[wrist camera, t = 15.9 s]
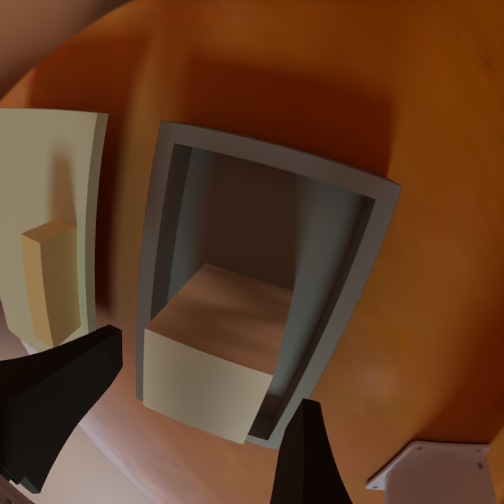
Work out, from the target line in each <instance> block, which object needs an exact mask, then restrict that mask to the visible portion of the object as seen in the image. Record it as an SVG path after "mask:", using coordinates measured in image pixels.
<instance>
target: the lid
mask: <svg viewBox="0 0 504 504" xmlns="http://www.w3.org/2000/svg"><path fill="white" fill-rule="evenodd" d="M108 115H109V114H108V113H98V112H88V111H76V110H62V109H43V108H0V295H1V300H2V304H3V309H4V313H5V317H6V321H7V325H8V328H9V330H10V331H11V332H13V333H14V334H15V335H16V336H18V337H19V338H20V339H22V340H23V341H24V342H26V343H27V344H28V345H30V346H31V347H32V348H34V349H35V350H36V351H38V352H42V351H45V350H48V349H51V348H54V347H56V346H59V345H62V344H65V343H67V342H69V341H72V340H74V339H77V338H79V337H81V336H84V335H86V334H88V333H91V332H93V331H95V330H97V325H96V308H95V230H96V212H97V198H98V187H99V177H100V168H101V160H102V152H103V145H104V139H105V132H106V126H107V121H108Z"/></svg>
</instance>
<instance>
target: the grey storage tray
mask: <svg viewBox="0 0 504 504" xmlns="http://www.w3.org/2000/svg"><path fill="white" fill-rule="evenodd" d="M401 188H402V186H401V185H399V184H397V183H395V182H394V181H392V180H390V179H388V178H386V177H383V176H380V175H377V174H375V173H372V172H369V171H366V170H363V169H361V168H358V167H355V166H352V165H349V164H346V163H343V162H340V161H337V160H333V159H330V158H327V157H324V156H321V155H317V154H314V153H311V152H307V151H304V150H300V149H297V148H293V147H290V146H286V145H282V144H279V143H275V142H271V141H267V140H263V139H259V138H255V137H251V136H247V135H243V134H238V133H234V132H230V131H225V130H220V129H216V128H211V127H206V126H201V125H196V124H190V123H183V122H172V121H161V122H160V127H159V132H158V137H157V143H156V148H155V153H154V159H153V165H152V171H151V177H150V184H149V190H148V197H147V205H146V212H145V221H144V229H143V238H142V248H141V259H140V271H139V285H138V302H137V327H136V395H137V399H139V400H142V401H143V363H144V333H145V327H146V326H147V325H148V324H149V323H150V322H151V321H152V320H153V319H154V318H155V316H156V315H157V314H158V313H159V312H160V311H161V310H162V309H163V308H164V307H165V306H166V305H167V303H168V302H169V301H170V300H171V299H172V298H173V297H174V296H175V295H176V294H177V293H178V292H179V291H180V289H181V288H182V287H183V286H184V285H185V284H186V283H187V282H188V281H189V280H190V279H191V278H192V277H193V276H194V274H195V273H196V272H197V271H198V270H199V269H200V268H201V267H202V266H203V265H204V264H205V263H208V264H211V265H214V266H217V267H220V268H223V269H226V270H229V271H232V272H235V273H239V274H242V275H245V276H248V277H251V278H254V279H257V280H260V281H263V282H266V283H269V284H273V285H276V286H279V287H282V288H285V289H288V290H291V291H294V292H293V296H292V301H291V305H290V310H289V314H288V319H287V323H286V327H285V331H284V336H283V340H282V344H281V348H280V352H279V356H278V360H277V364H276V368H275V372H274V376H273V378H272V381H271V383H270V385H269V388H268V390H267V392H266V395H265V397H264V399H263V401H262V404H261V406H260V408H259V410H258V413H257V415H256V417H255V419H254V421H253V424H252V426H251V428H250V430H249V432H248V434H247V437H246V439H245V441H247V442H251V443H254V444H257V445H261V446H264V447H268V448H272V449H275V450H277V448H278V447H279V445H280V444H281V442H282V439H283V435H284V432H285V428H286V427H287V425H288V423H289V422H290V420H291V418H292V416H293V415H294V413H295V411H296V410H297V408H298V406H299V404H300V402H301V401H302V399H303V398H305V399H308V398H309V396H310V394H311V392H312V391H313V389H314V387H315V385H316V383H317V382H318V380H319V378H320V376H321V374H322V372H323V371H324V369H325V367H326V365H327V363H328V361H329V359H330V357H331V355H332V353H333V351H334V349H335V347H336V346H337V344H338V342H339V340H340V338H341V335H342V333H343V331H344V329H345V327H346V325H347V323H348V321H349V319H350V317H351V315H352V312H353V310H354V308H355V306H356V304H357V302H358V299H359V297H360V295H361V293H362V290H363V288H364V286H365V283H366V281H367V279H368V276H369V274H370V272H371V269H372V267H373V264H374V262H375V259H376V257H377V254H378V252H379V249H380V247H381V244H382V242H383V239H384V236H385V234H386V231H387V228H388V226H389V223H390V220H391V217H392V215H393V212H394V209H395V206H396V203H397V200H398V197H399V194H400V191H401Z"/></svg>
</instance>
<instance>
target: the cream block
mask: <svg viewBox="0 0 504 504" xmlns="http://www.w3.org/2000/svg"><path fill="white" fill-rule="evenodd" d="M293 292H294V291H291V290H288V289H285V288H282V287H279V286H276V285H273V284H269V283H266V282H263V281H260V280H257V279H254V278H251V277H248V276H245V275H242V274H239V273H235V272H232V271H229V270H226V269H223V268H220V267H217V266H214V265H211V264H208V263H205V264H204V265H203V266H202V267H201V268H200V269H199V270H198V271H197V272H196V273H195V274H194V276H193V277H192V278H191V279H190V280H189V281H188V282H187V283H186V284H185V285H184V286H183V287H182V288H181V289H180V291H179V292H178V293H177V294H176V295H175V296H174V297H173V298H172V299H171V300H170V301H169V302H168V303H167V305H166V306H165V307H164V308H163V309H162V310H161V311H160V312H159V313H158V314H157V315H156V316H155V318H154V319H153V320H152V321H151V322H150V323H149V324H148V325H147V326H146V327H145V333H144V363H143V406H145V407H147V408H149V409H152V410H154V411H156V412H158V413H160V414H163V415H165V416H167V417H170V418H172V419H174V420H177V421H179V422H182V423H184V424H187V425H189V426H192V427H194V428H197V429H200V430H202V431H205V432H208V433H210V434H213V435H216V436H219V437H222V438H225V439H228V440H231V441H234V442H237V443H240V444H243V443H244V441H245V439H246V437H247V434H248V432H249V430H250V428H251V426H252V424H253V421H254V419H255V417H256V415H257V413H258V410H259V408H260V406H261V404H262V401H263V399H264V397H265V395H266V392H267V390H268V388H269V385H270V383H271V381H272V378H273V376H274V372H275V368H276V364H277V360H278V356H279V352H280V348H281V344H282V340H283V336H284V331H285V327H286V323H287V319H288V314H289V310H290V305H291V301H292V296H293Z"/></svg>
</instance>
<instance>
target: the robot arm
mask: <svg viewBox="0 0 504 504" xmlns="http://www.w3.org/2000/svg"><path fill="white" fill-rule="evenodd" d="M122 367H123V359H122V330H120V329H118V328H116V327H114V326H112V325H110V324H109V325H107V326H104V327H102V328H100V329H97V330H95V331H93V332H91V333H88V334H86V335H84V336H81V337H79V338H77V339H74V340H72V341H69V342H67V343H65V344H62V345H59V346H56V347H54V348H51V349H48V350H45V351H42V352H39V353H36V354H32V355H29V356H24V357H20V358H16V359H9V360H3V361H0V504H12V503H13V504H34V503H33V502H32V501H31V500H29V499H28V498H27V497H26V496H24V495H23V494H22V493H21V492H20V491H18V490H17V489H16V488H15V487H14V486H13V485H12V484H10V483H9V481H10V479H11V480H12V481H13V482H14V483H15V484H17V485H18V484H19V483H20V484H21V485H23V486H24V487H25V488H26V489H27V490H29V491H30V492H31V493H35V494H36V493H40V492H41V489H42V487H43V485H44V482H45V480H46V478H47V476H48V473H49V471H50V469H51V467H52V465H53V464H54V462H55V460H56V458H57V456H58V454H59V452H60V450H61V449H62V447H63V446H64V444H65V442H66V441H67V439H68V438H69V436H70V435H71V433H72V432H73V429H74V428H75V427H76V426H77V424H78V423H79V422H80V420H81V419H82V418H83V417H84V416H85V415H86V413H87V412H88V411H89V410H90V409H91V408H92V406H93V405H94V404H95V403H96V402H97V401H98V399H99V398H100V397H101V396H102V395H103V394H104V392H105V391H106V390H107V389H108V388H109V387H110V385H111V384H112V382H113V381H114V379H115V378H116V376H117V375H118V373H119V372H120V370H121V368H122ZM489 450H490V445H489V444H452V443H436V442H425V441H414V442H411V443H410V444H409V445H408V446H407V447H406V448H405V449H404V450H403V451H402V452H401V453H400V454H399V455H398V456H397V457H396V458H395V459H394V460H392V461H391V462H390V463H389V464H388V465H387V466H386V467H385V468H384V469H383V470H381V471H380V472H379V473H378V474H377V475H376V476H375V477H373V478H372V479H371V480H370V481H369V482H367V483H366V484H365V488H366V489H374V490H384V499H385V504H496V496H495V492H494V487H493V483H492V479H491V475H490V471H489V467H488V464H487V460H486V457H485V454H486V453H487V452H488V451H489ZM270 504H353V503H352V501H351V499H350V497H349V495H348V493H347V491H346V489H345V486H344V484H343V482H342V479H341V477H340V474H339V472H338V469H337V466H336V463H335V460H334V457H333V454H332V451H331V447H330V444H329V441H328V437H327V433H326V429H325V425H324V420H323V416H322V411H321V405H320V403H319V402H317V401H313V400H309V399H305V398H303V399H302V401H301V402H300V404H299V406H298V408H297V410H296V411H295V413H294V415H293V416H292V418H291V420H290V422H289V423H288V425H287V427H286V428H285V432H284V435H283V439H282V442H281V446H280V450H279V455H278V461H277V467H276V473H275V479H274V485H273V491H272V497H271V501H270Z"/></svg>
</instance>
